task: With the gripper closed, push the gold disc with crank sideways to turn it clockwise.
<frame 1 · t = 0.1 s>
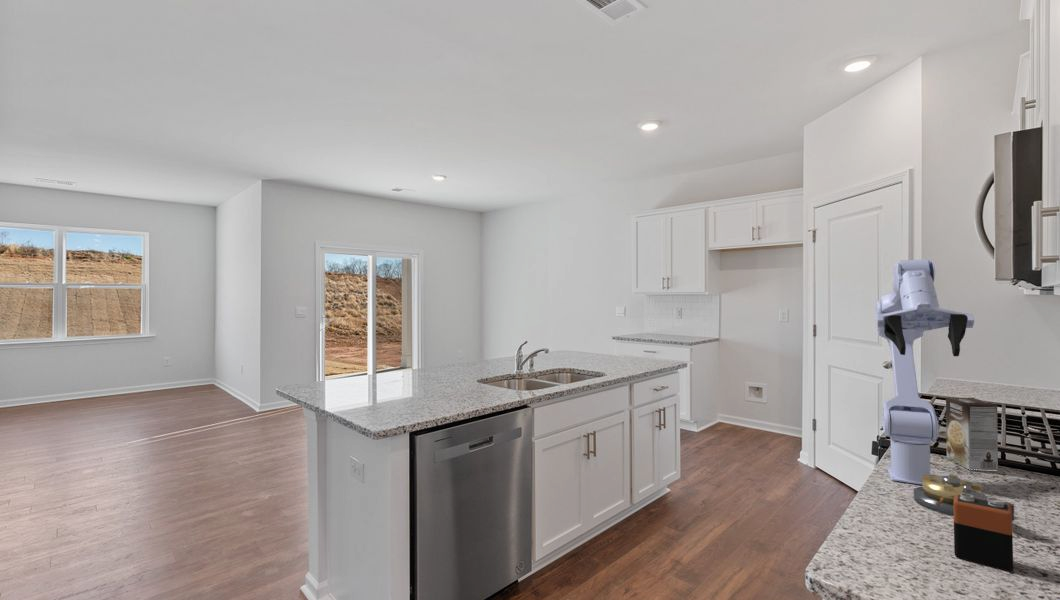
hand: (929, 351, 90), 32 cm above the countertop, tool tilted 50°, fingers open, 7 cm apart
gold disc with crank: (968, 495, 95), point 4 cm above the countertop, hinge at 0.0°
mounting plate: (951, 505, 99), on the countertop
coffee box: (971, 466, 121), on the countertop
battery: (983, 561, 78), on the countertop
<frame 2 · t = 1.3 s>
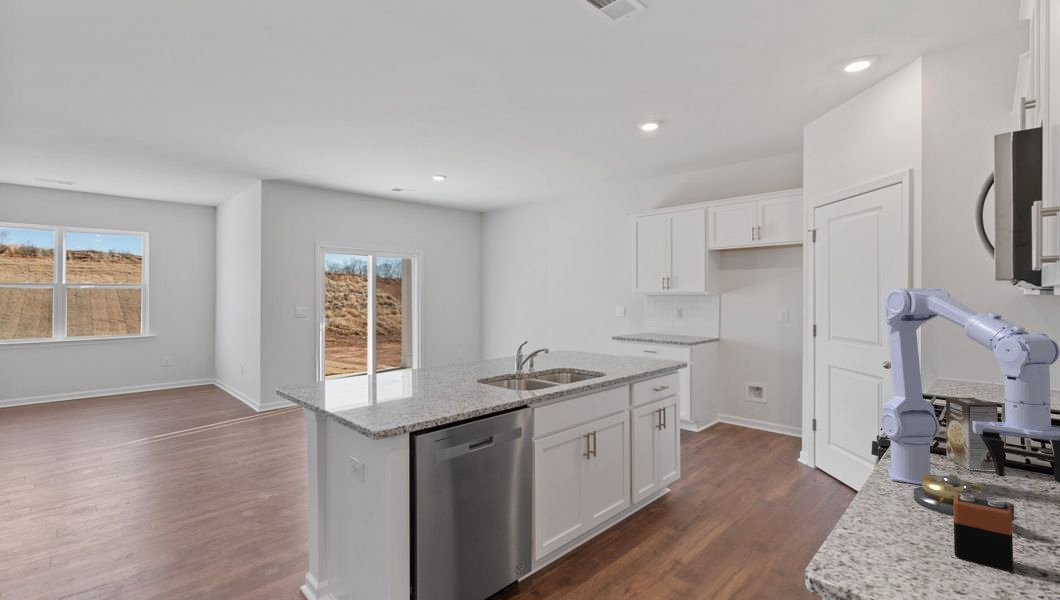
hand: (1029, 478, 87), 10 cm above the countertop, tool pointing down, fingers open, 7 cm apart
nothing on the countertop moved.
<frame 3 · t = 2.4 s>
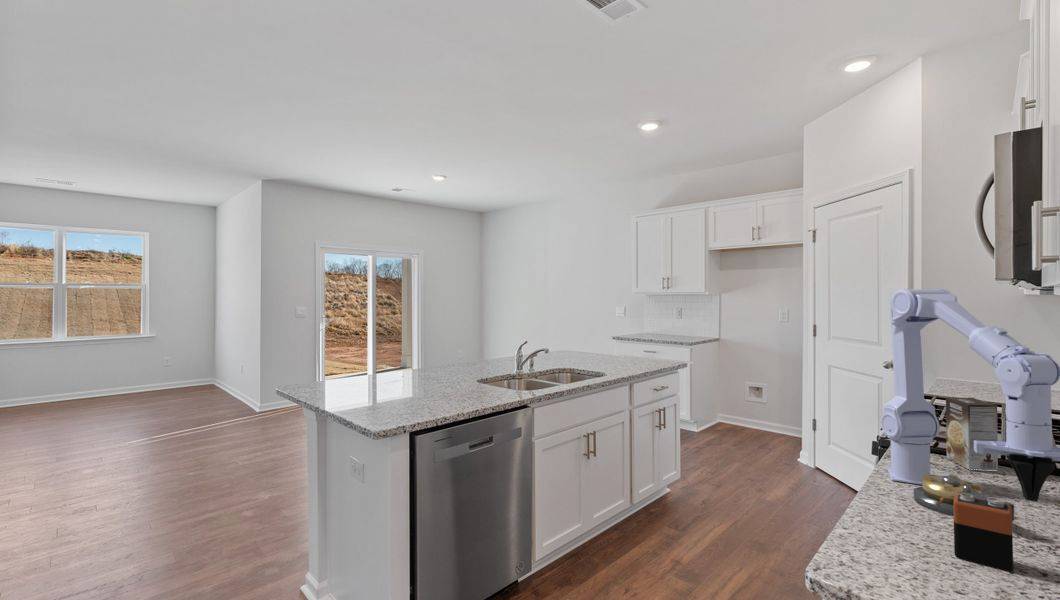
hand: (1030, 498, 87), 6 cm above the countertop, tool pointing down, fingers closed
nothing on the countertop moved.
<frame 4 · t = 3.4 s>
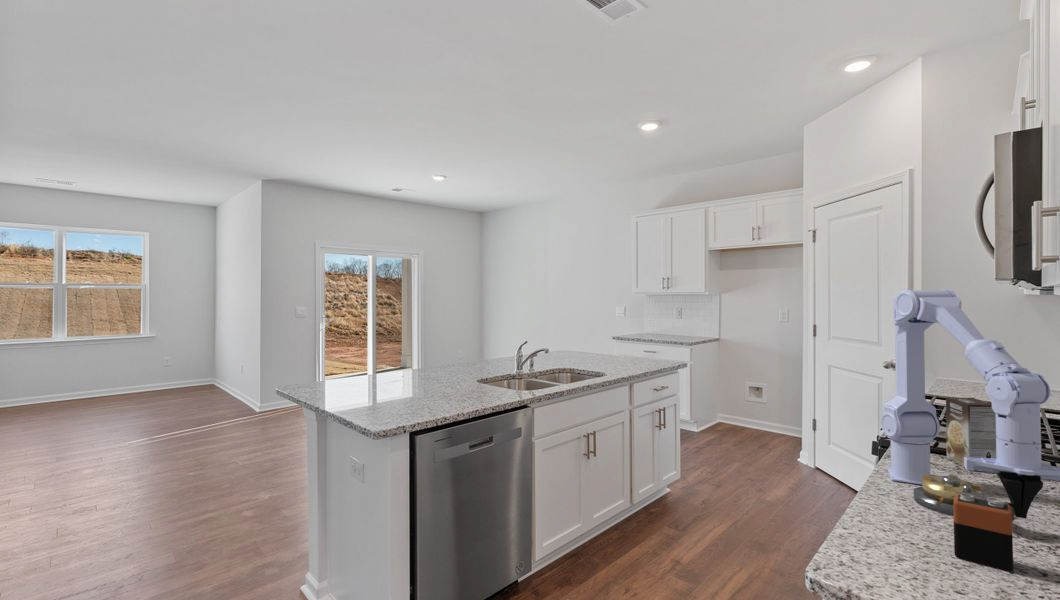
hand: (1019, 515, 88), 3 cm above the countertop, tool pointing down, fingers closed
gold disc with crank: (968, 495, 95), point 4 cm above the countertop, hinge at 0.0°, touching gripper
everything else where it was.
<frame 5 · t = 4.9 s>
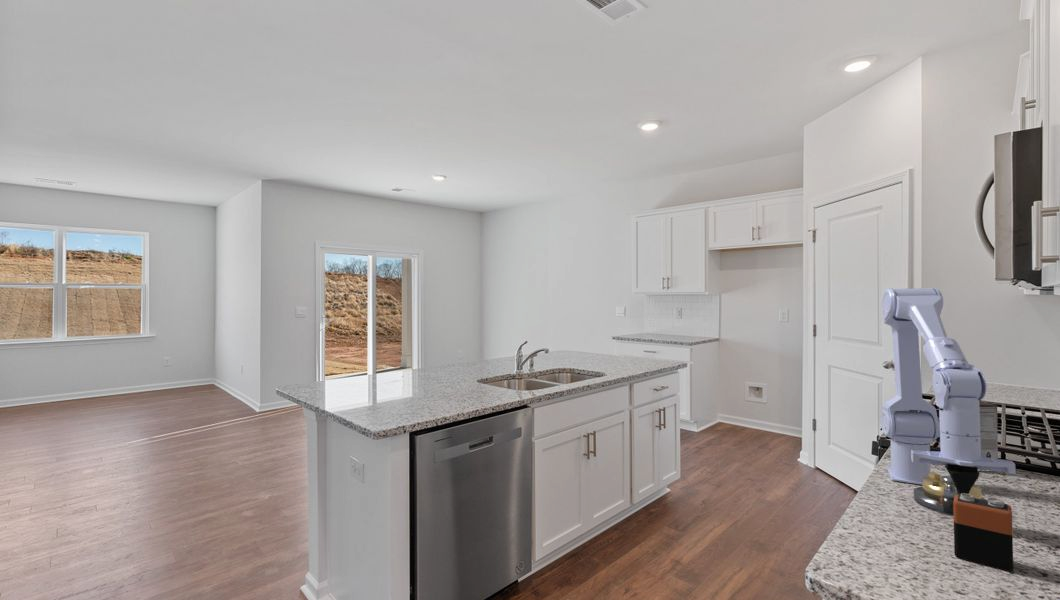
hand: (962, 506, 92), 3 cm above the countertop, tool pointing down, fingers closed, pressing on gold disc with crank
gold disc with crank: (950, 493, 96), point 4 cm above the countertop, hinge at -39.6°, touching gripper
everything else where it was.
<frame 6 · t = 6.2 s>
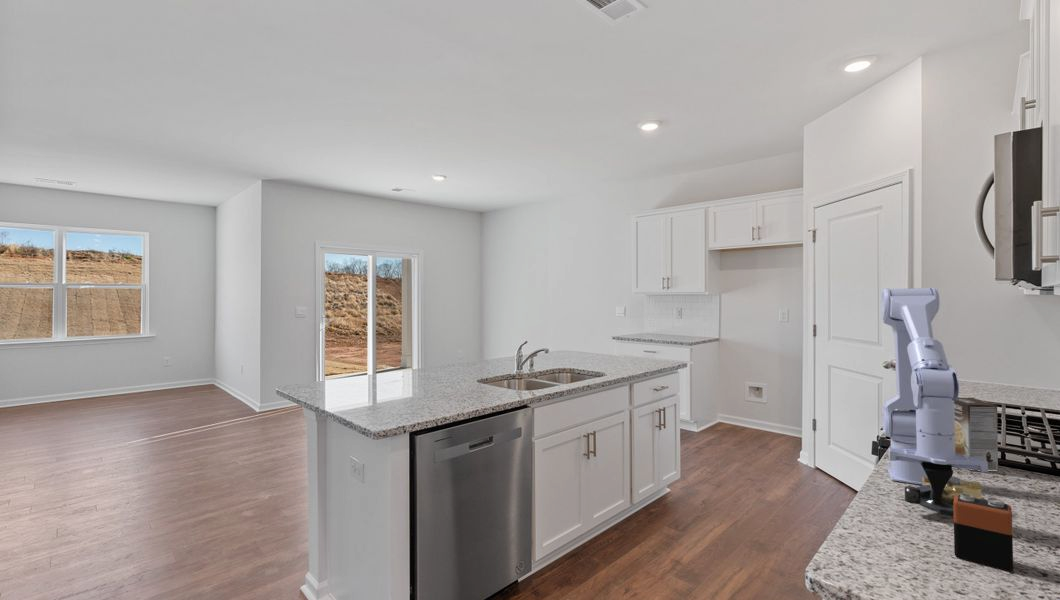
hand: (936, 502, 94), 3 cm above the countertop, tool pointing down, fingers closed, pressing on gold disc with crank
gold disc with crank: (937, 490, 97), point 4 cm above the countertop, hinge at -68.7°, touching gripper
everything else where it was.
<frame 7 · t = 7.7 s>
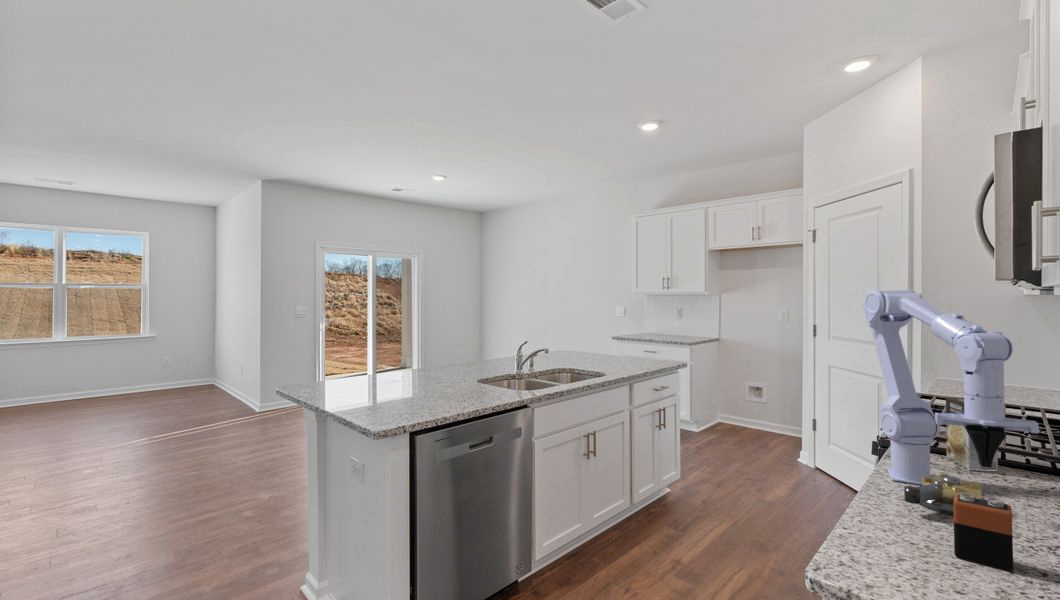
hand: (985, 465, 95), 9 cm above the countertop, tool pointing down, fingers closed
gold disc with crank: (937, 490, 97), point 4 cm above the countertop, hinge at -69.0°
everything else where it was.
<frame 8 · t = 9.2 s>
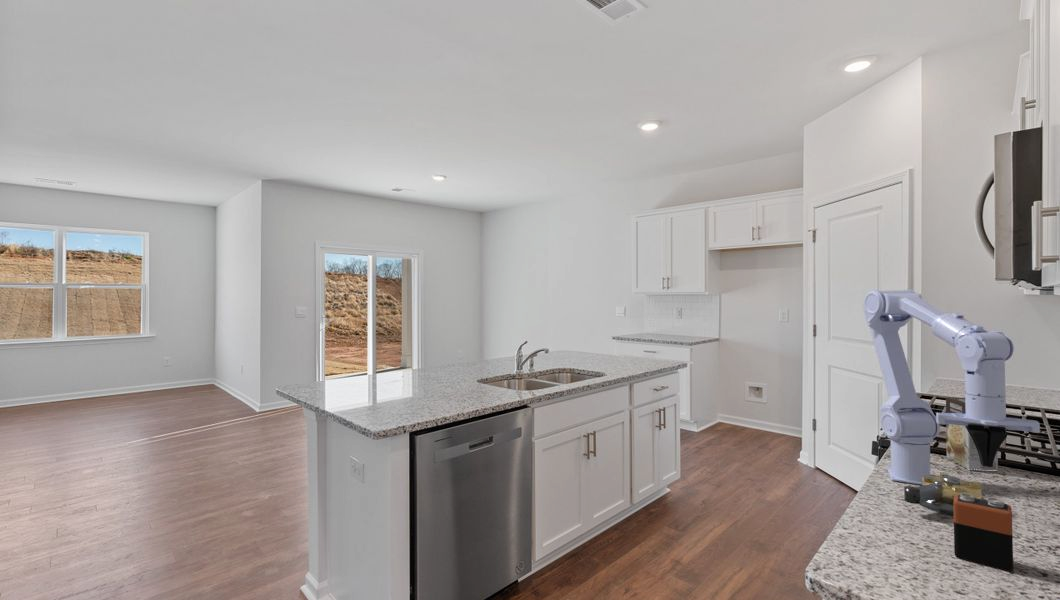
hand: (986, 465, 95), 9 cm above the countertop, tool pointing down, fingers closed
nothing on the countertop moved.
at the end: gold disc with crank at -69° (first picture: +0°); battery moved 0.2 cm from its start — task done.
